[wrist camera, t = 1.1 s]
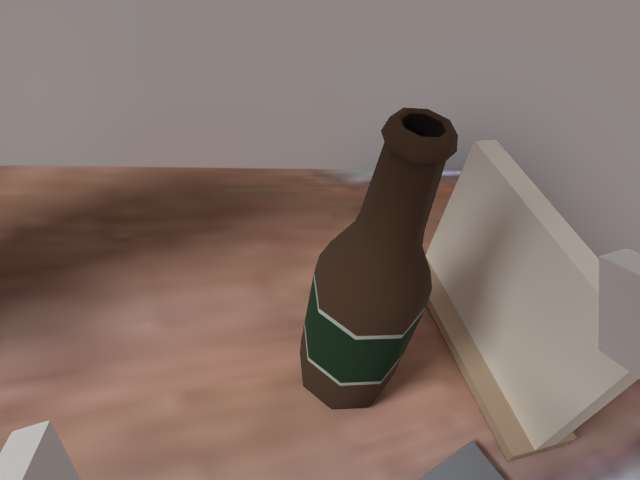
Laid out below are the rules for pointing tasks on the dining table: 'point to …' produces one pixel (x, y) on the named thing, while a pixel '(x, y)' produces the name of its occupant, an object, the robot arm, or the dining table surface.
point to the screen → (519, 307)
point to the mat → (465, 466)
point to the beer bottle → (376, 268)
